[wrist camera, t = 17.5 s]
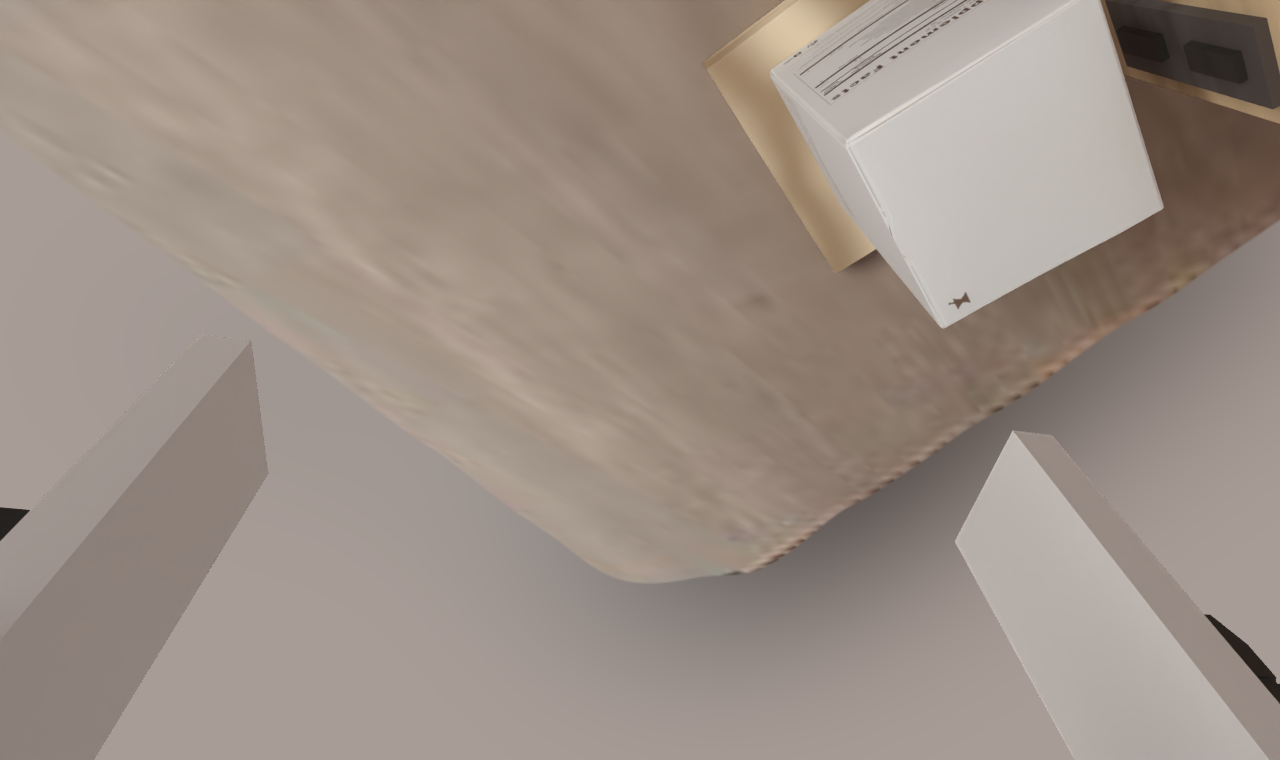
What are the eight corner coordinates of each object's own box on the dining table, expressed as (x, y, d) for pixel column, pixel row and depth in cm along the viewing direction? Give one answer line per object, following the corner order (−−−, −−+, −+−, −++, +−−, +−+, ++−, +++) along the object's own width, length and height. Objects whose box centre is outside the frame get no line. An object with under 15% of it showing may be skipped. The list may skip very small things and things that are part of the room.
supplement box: (994, 118, 40) (1175, 214, 27) (841, 210, 42) (941, 339, 29) (928, -46, 35) (1107, -23, 23) (763, 68, 38) (841, 146, 25)
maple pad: (827, 260, 46) (835, 274, 44) (702, 62, 39) (706, 69, 38) (1047, 121, 42) (1066, 130, 40) (948, -124, 35) (965, -125, 34)
